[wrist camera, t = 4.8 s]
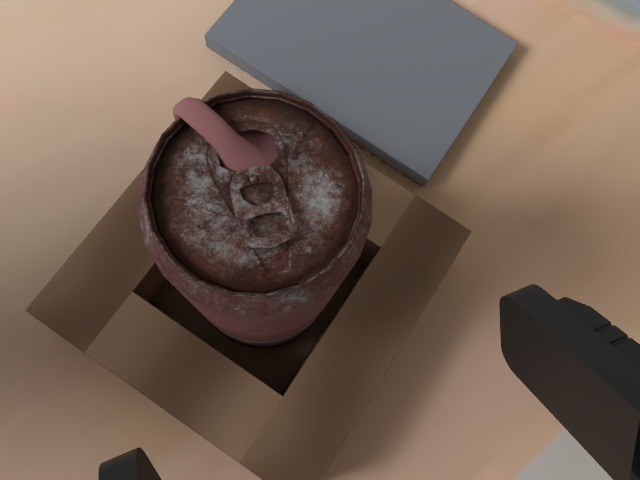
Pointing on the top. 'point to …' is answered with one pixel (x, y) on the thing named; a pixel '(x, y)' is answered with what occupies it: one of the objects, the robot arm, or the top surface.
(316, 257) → the can
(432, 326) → the top surface
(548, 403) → the robot arm
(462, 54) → the mat
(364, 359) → the box
